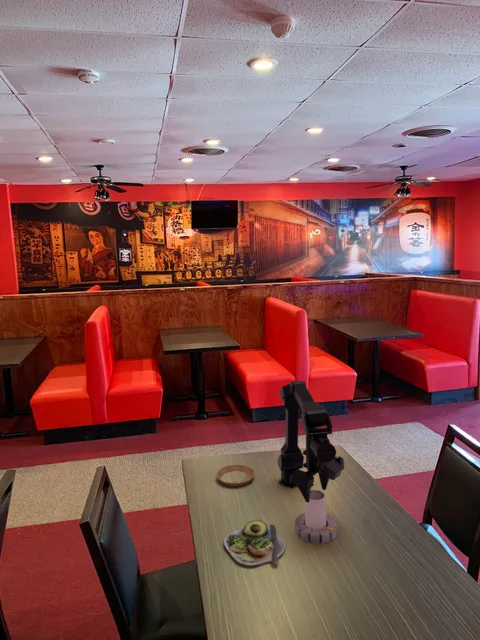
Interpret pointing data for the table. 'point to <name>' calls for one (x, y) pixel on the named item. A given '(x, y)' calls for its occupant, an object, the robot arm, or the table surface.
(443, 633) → the table surface
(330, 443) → the robot arm
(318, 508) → the can
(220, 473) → the plant saucer
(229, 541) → the avocado toast plate
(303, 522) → the toothed ring
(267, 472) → the table surface
